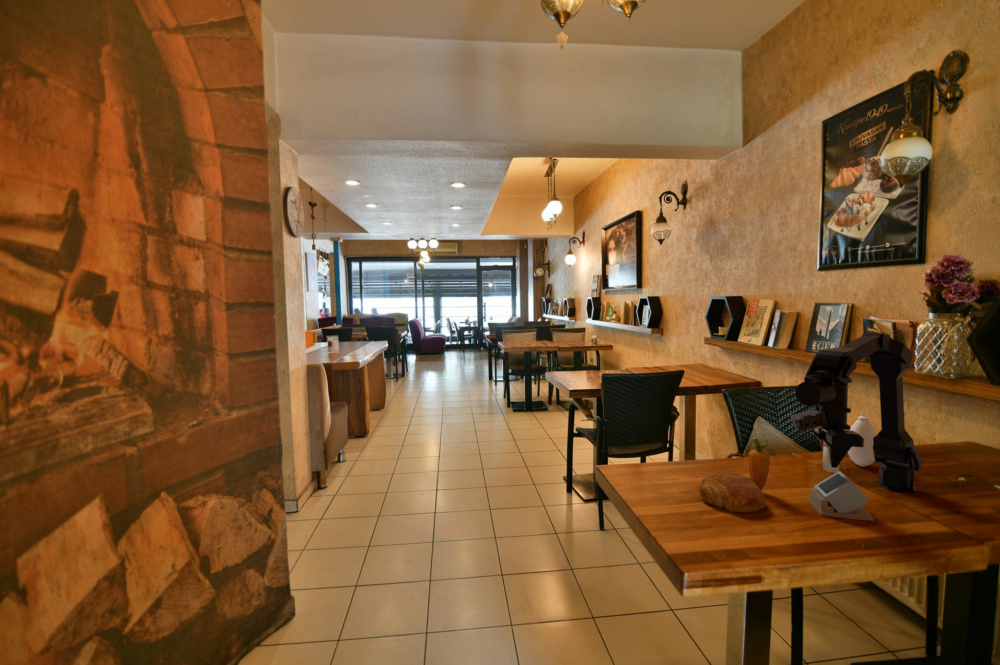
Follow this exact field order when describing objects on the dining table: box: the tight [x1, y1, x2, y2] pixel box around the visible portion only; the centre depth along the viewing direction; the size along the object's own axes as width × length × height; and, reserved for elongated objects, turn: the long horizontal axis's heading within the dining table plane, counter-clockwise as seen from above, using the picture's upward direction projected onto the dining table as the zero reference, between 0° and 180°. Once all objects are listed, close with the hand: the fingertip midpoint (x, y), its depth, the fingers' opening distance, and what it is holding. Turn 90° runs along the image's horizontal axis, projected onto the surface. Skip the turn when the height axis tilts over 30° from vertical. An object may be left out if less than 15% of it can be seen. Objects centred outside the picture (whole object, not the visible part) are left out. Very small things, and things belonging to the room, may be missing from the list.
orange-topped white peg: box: [822, 442, 840, 474], centre depth 112 cm, size 3×3×7 cm
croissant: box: [698, 472, 767, 514], centre depth 117 cm, size 14×16×8 cm
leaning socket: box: [807, 470, 875, 522], centre depth 111 cm, size 11×9×9 cm
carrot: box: [748, 436, 771, 491], centre depth 123 cm, size 5×5×15 cm
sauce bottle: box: [847, 408, 878, 468], centre depth 143 cm, size 8×8×18 cm
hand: (831, 465), depth 112 cm, fingers closed on orange-topped white peg, 3 cm apart
